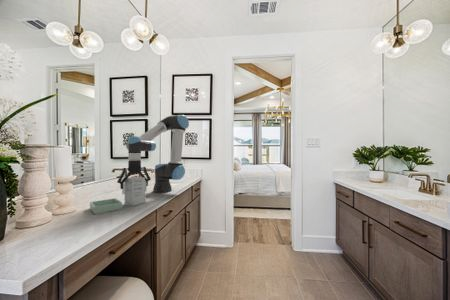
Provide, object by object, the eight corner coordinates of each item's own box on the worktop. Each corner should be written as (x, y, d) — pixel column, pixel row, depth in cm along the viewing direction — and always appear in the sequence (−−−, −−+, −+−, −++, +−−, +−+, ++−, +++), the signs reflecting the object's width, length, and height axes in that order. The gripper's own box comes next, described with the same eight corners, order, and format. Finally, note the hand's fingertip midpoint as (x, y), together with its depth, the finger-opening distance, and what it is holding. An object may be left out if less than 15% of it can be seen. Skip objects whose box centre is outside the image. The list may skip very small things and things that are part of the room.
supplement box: (146, 202, 133) (145, 177, 133) (133, 206, 125) (133, 179, 125) (136, 201, 138) (136, 176, 138) (124, 204, 130) (123, 178, 130)
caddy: (115, 204, 130) (115, 198, 130) (122, 209, 118) (121, 202, 118) (90, 208, 121) (89, 202, 121) (93, 214, 109) (93, 207, 109)
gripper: (151, 159, 142) (151, 189, 142) (112, 160, 126) (111, 194, 126) (155, 159, 137) (155, 190, 136) (114, 160, 120) (114, 196, 120)
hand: (134, 192), depth 131 cm, fingers open, 13 cm apart
